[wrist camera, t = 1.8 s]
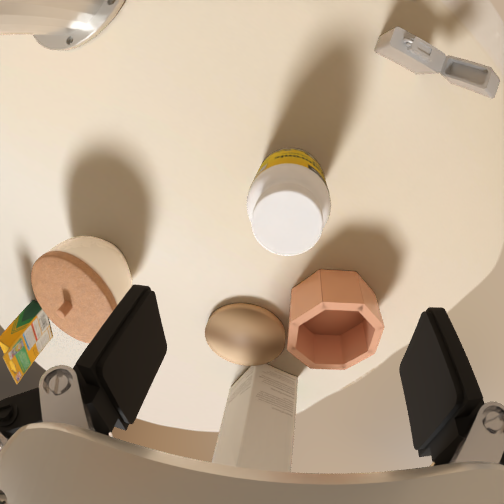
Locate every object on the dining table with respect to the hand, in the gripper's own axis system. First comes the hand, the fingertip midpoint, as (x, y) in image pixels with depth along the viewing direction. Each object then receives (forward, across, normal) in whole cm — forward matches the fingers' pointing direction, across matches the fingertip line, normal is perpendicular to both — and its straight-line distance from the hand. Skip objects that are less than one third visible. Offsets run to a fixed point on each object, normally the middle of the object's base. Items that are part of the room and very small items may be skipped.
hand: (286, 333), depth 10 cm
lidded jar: (+18, +20, +10) cm, 29 cm away
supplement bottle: (+18, 0, 0) cm, 18 cm away
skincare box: (+18, +2, +26) cm, 32 cm away
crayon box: (+18, +38, +22) cm, 47 cm away
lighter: (+18, -10, -12) cm, 23 cm away
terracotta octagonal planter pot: (+18, -4, +12) cm, 22 cm away
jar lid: (+18, +4, +18) cm, 25 cm away
